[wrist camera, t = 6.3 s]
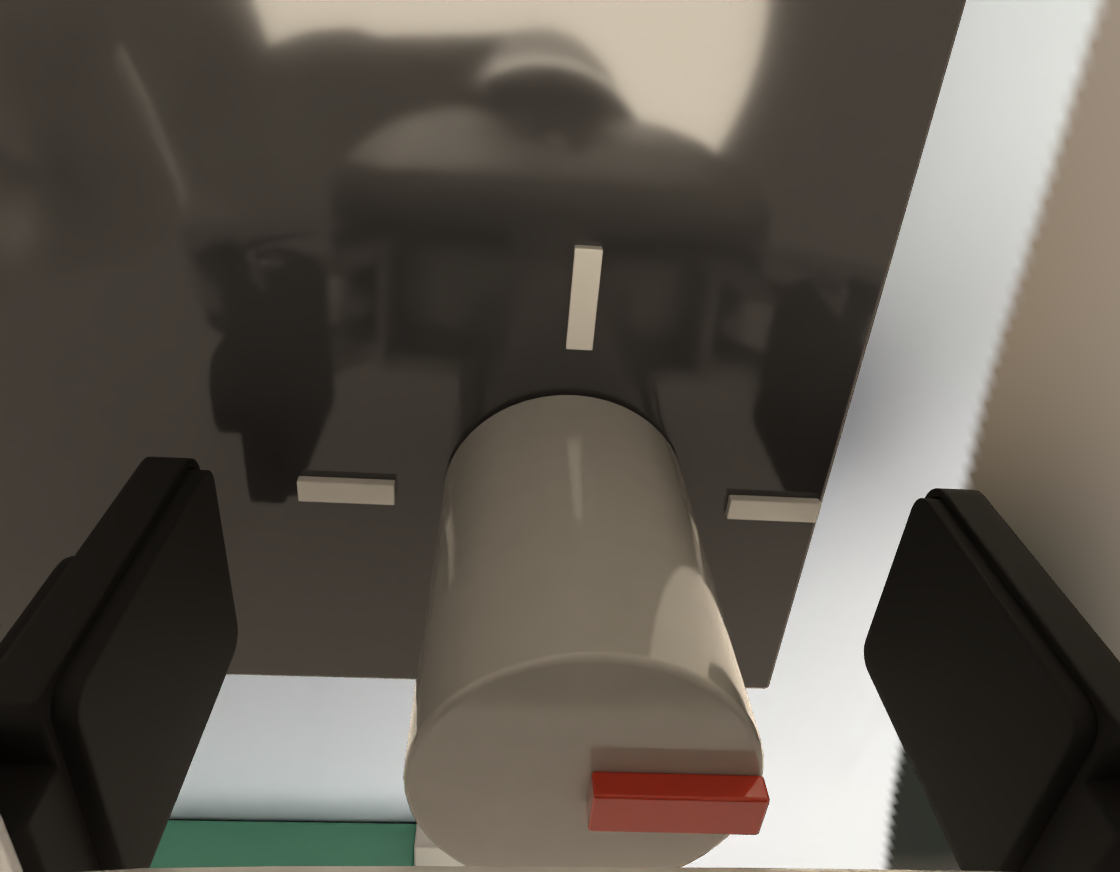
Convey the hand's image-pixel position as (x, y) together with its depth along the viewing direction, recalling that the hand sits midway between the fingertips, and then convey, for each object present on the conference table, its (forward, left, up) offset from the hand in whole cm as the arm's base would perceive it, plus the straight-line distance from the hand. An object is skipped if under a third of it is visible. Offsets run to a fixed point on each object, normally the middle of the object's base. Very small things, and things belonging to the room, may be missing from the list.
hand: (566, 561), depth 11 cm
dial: (0, 0, -1) cm, 1 cm away
